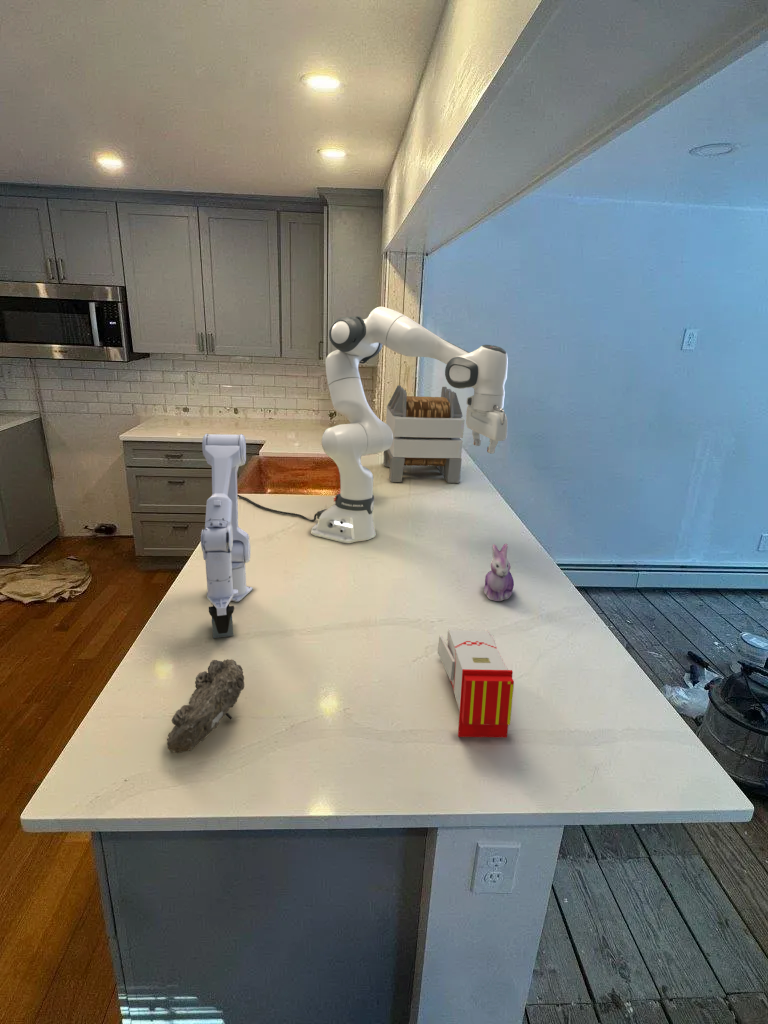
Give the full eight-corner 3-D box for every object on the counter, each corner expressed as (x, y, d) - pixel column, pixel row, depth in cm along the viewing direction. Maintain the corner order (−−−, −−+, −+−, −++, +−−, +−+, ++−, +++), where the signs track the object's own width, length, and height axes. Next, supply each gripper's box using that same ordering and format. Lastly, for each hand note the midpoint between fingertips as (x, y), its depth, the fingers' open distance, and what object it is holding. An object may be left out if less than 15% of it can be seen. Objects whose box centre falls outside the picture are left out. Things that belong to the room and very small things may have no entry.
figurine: (496, 605, 154) (502, 555, 148) (473, 589, 162) (479, 540, 157) (523, 599, 158) (530, 549, 153) (500, 583, 166) (506, 536, 161)
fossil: (192, 660, 117) (244, 628, 112) (224, 691, 120) (276, 661, 115) (142, 746, 98) (202, 712, 93) (182, 779, 101) (242, 748, 96)
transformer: (382, 463, 289) (386, 382, 275) (445, 464, 293) (451, 384, 279) (390, 482, 257) (394, 392, 243) (460, 483, 261) (468, 394, 247)
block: (233, 635, 135) (232, 619, 133) (213, 638, 133) (211, 621, 132) (232, 626, 139) (231, 610, 137) (212, 628, 137) (211, 612, 136)
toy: (488, 613, 130) (523, 677, 101) (484, 667, 133) (517, 744, 104) (435, 612, 130) (455, 676, 101) (432, 666, 133) (451, 743, 103)
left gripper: (239, 588, 125) (241, 641, 130) (235, 561, 138) (238, 610, 143) (205, 591, 123) (209, 645, 128) (205, 563, 136) (208, 613, 141)
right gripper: (515, 409, 158) (509, 457, 162) (482, 397, 176) (478, 441, 181) (495, 409, 156) (489, 458, 161) (464, 397, 174) (460, 441, 179)
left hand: (222, 627), depth 135 cm, fingers closed on block, 4 cm apart
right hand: (483, 449), depth 171 cm, fingers open, 8 cm apart
